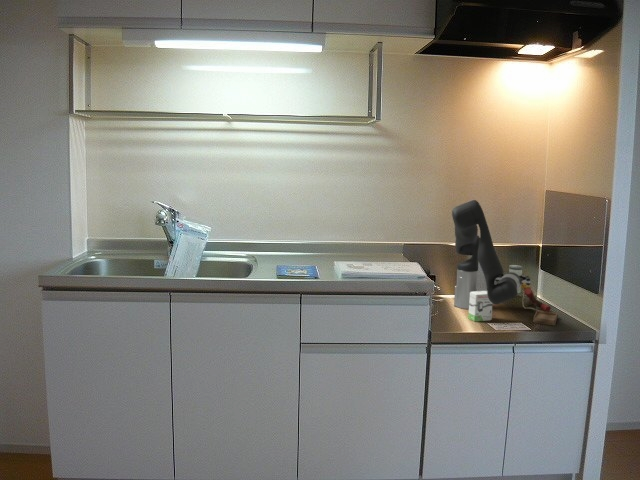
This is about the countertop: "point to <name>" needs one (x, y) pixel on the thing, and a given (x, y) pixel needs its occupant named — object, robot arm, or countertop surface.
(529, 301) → the slingshot
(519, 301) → the countertop surface
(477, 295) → the ink box
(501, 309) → the countertop surface
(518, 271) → the canister
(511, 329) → the countertop surface
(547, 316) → the tray
